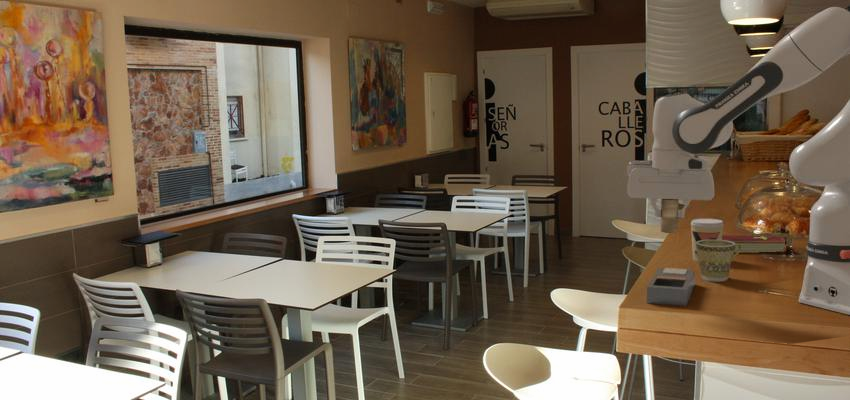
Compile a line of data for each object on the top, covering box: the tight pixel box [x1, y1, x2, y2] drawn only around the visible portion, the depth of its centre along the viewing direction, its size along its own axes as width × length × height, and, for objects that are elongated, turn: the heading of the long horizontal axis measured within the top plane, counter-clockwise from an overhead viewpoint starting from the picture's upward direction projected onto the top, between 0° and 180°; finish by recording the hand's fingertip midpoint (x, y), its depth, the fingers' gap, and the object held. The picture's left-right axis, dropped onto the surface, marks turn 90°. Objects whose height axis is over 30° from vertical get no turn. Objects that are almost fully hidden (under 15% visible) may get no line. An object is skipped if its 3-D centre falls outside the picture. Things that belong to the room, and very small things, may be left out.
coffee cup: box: [690, 218, 724, 263], centre depth 232 cm, size 9×9×12 cm
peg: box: [660, 199, 680, 234], centre depth 188 cm, size 4×4×8 cm
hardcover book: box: [722, 234, 786, 254], centre depth 246 cm, size 12×21×4 cm, turn 80°
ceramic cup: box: [696, 240, 741, 283], centre depth 209 cm, size 13×10×10 cm
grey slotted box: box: [646, 267, 696, 307], centre depth 195 cm, size 22×9×4 cm, turn 156°
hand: (669, 217), depth 188 cm, fingers closed on peg, 4 cm apart
